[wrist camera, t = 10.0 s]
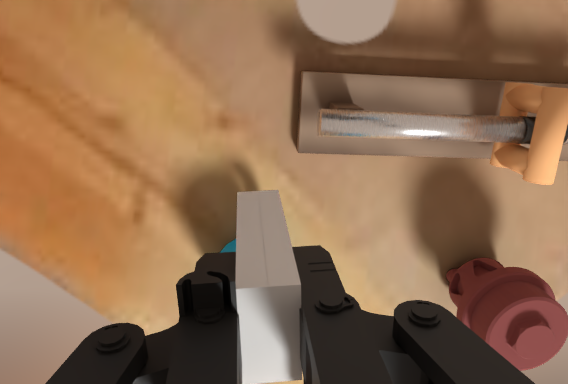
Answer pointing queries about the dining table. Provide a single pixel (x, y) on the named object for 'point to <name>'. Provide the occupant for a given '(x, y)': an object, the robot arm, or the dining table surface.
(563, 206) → the dining table surface
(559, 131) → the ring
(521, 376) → the robot arm
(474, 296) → the mechanical component
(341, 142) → the stand
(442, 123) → the rod
